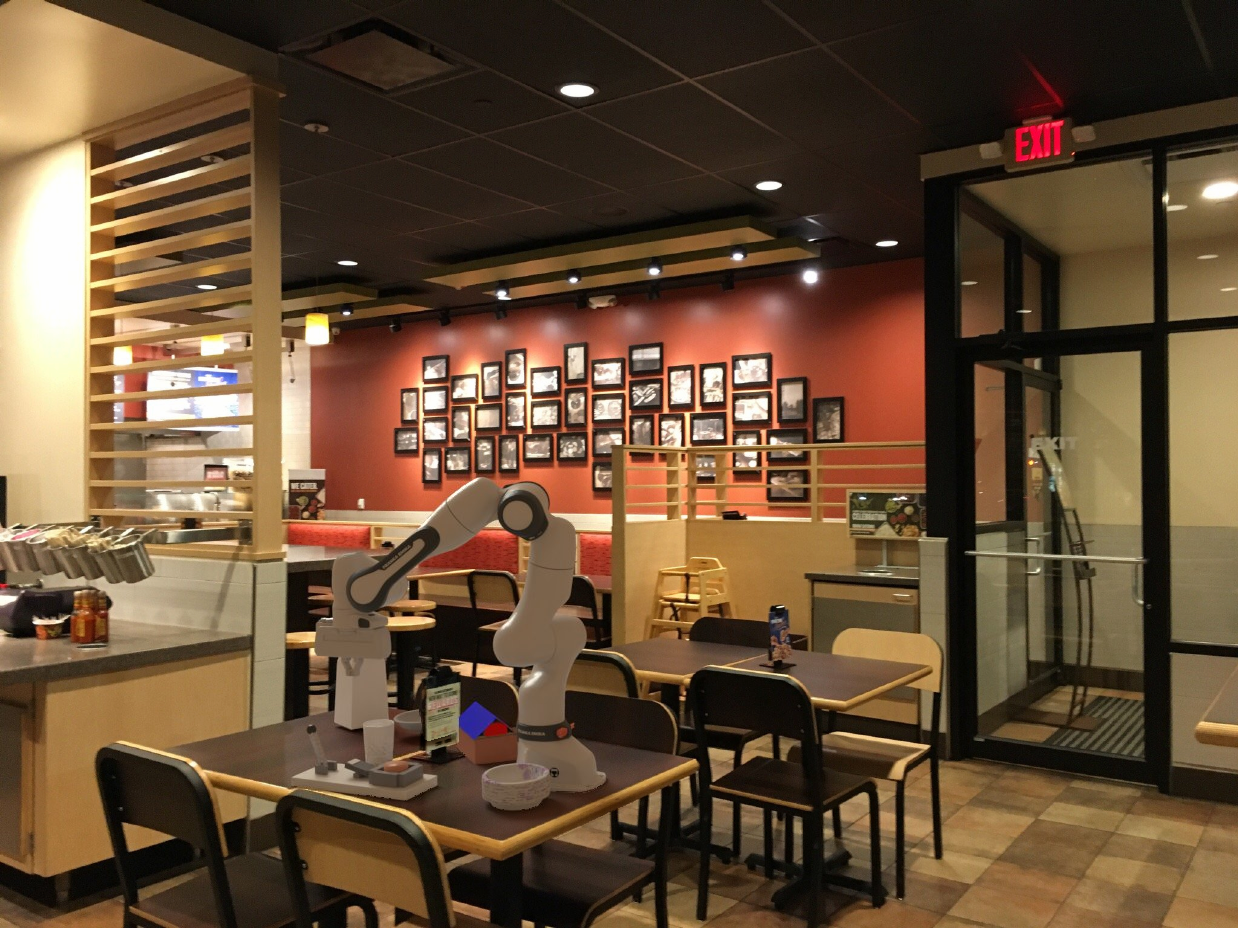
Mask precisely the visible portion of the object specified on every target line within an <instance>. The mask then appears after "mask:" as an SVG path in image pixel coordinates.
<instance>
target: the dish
mask: <svg viewBox="0 0 1238 928" xmlns="http://www.w3.org/2000/svg"><path fill="white" fill-rule="evenodd" d="M393 721H394V723H397V724H398V725H399V726H400V727H401V728H402V729H404V730H406V731H409V732H414V733H420V734H421V729H422V723H421V717H420V716H419V709H415V710H414V709H413V710H409V711H405V712H401V713H399V714H397V715H395V716H393Z"/></svg>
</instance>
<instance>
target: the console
mask: <svg viewBox="0 0 1238 928" xmlns="http://www.w3.org/2000/svg"><path fill="white" fill-rule="evenodd" d="M327 762H328V765H329V768H328V765H320V764H319V763H317V764H315V765H314V767H312V768H310V769H309V768H308V769H307V770H305V771H303V772H300V773H298V774H296V775H294V776H291V777H290V778H291V780H290V781H291V784H290V785H291V787H294V786H297V787H296V788H302V789H303V788H304V789H310V788H311V790H318V791H326V790H327V791H328V792H334V793H335V792H336V793H343V794H350V795H351V794H352V795H358V794H359V795H360V796H366V795H370V796H369V797H374V796H376V798H381V797H384V798H383V799H389V798H391V799H392V800H398V801H399V800H400V801H405V800H406V801H408V800H410V799H412V798H415V797H416V796H418V795H421V794H422V792H423V793H424V792H427V791H429V790H430V788H431V789H432V788H435V787H437V786H438V775H436V774H435V775H434V774H428V773H424V765H423V764H420V763H419V762H410V761H407V762H408V769H407V770H405V771H403V772H401V773H396V772H388V771H384V764H385V763H387V762H385V763H383V764H381V765H376V766H377V767H375V768H373V769H371V770H369V775H368V776H364V775H362V774H359V773H357V772H354V771H351V770H349V769H346V768H344V767H345V763H338V761H337V760H331V759H327ZM388 762H390V761H388ZM321 789H322V790H321ZM428 789H429V790H428ZM420 793H421V794H420ZM371 795H372V796H371ZM415 795H416V796H415Z"/></svg>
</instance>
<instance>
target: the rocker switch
mask: <svg viewBox="0 0 1238 928" xmlns="http://www.w3.org/2000/svg"><path fill="white" fill-rule="evenodd" d="M344 764H345V767H344V768H346V769H349V770H351V771H354V772H357V773H359V774H362V775H364V776H368V775H369V770H371V769H373V768H375V767H377V766H378V765H372V764H369V763H367V762H366V761H364V760H361V759H358V758H353V759H351V760H348V761H347V762H345V763H344Z"/></svg>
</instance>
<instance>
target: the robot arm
mask: <svg viewBox="0 0 1238 928" xmlns="http://www.w3.org/2000/svg"><path fill="white" fill-rule="evenodd" d="M550 501H551V500H550V496H549V493H548V491H547V490H546V488H544V486H543V485H541V484H539V483H537V482H535V481H532V480H525V481H523V480H522V481H518V482H514V483H508V484H505V485H504V486H503V487H502V488H501V487H500V486H499V485H498V484H497V482H494V480H492V479H490V478H488V477H483V476H479V477H476V478H474V479H472V480H471V481H469V482H467V483H465V484H464V485H462V486H461V487H460V488H458V489H456V491H454V492H453V493H452V494H450V495H449V496H448V497H447V498H446V499H445V500H444V501H443V502H442V503H440V504H439V506H438V507H437V508H436V509H434V510H433V511H432V513H431V514H430V515H429V516H428V517H427V518H425V520H424V522H423V523H421V524H420V526H419V527H417V528H416V529H415V530H414V532H412V533H411V534H410V535H409V536H408V537H407V538H406V539H405V540H404V541H402V542H401V543H400V544H399V545H397V546H396V547H395V548H394V549H392V550H391V551H390V552H389V553H388V554H386V555H385V556H384V557H383V558H382V559H380V560H378V559H375V558H373V557H371V556H370V555H369V554H368V553H367V552H365V551H361V550H360V551H355V552H350V553H349V552H348V553H343V554H340V555H338V556H337V557H336V558H335V559H334V561H333V564H332V571H331V592H332V595H333V602H332V606H331V607H332V617H330V618H327V617H321V618H320V619H318V621H317V622H316V623H315V635H314V636H315V637H314V648H313V650H314V653H315V655H316V656H317V657H324V658H326V657H328V658H329V657H330V658H339V657H341V662H342V664H343V666H344V668H345V670H346V676H354V677H357V676H359V675H360V668H361V666H362V664H363V662H364V659H387V658H389V657H390V655H391V654H392V640H391V632H390V630H389V629H388V627H387V626H388V625H389V618H388V616H385V615H383V614H381V613H378V612H377V610H379V609H381V608H384V607H387V606H390V605H392V604H396V603H397V602H399V601H400V600H402V599H403V598H404V597H405V596H406V595H407V592H408V589H409V579H408V577H407V574H409V573H410V572H412V570H414V569H415V568H416V567H417V566H419V565H420V564H421V563H423V562H424V561H427V560H428V559H430V558H433V557H435V556H438V555H441V554H445V553H447V552H450V551H454V550H456V549H457V548H458V549H459V548H460V547H462V546H463V545H465V544H466V543H467V542H470V540H472V539H473V538H474V537H475V536H476V535H477V534H479V533H480V532H481V531H483V529H485V528H486V527H487V525H489V524H490V523H491V524H492V522H494V521H498V522H499V524H500V526H501V527H502V529H503V530H505V531H506V532H508V533H509V534H510V535H513V536H516V537H519V538H521V539H522V540H525V541H527V542H529V543H530V548H529V555H528V562H527V569H526V576H525V581H524V586H523V590H522V594H521V597H520V599H519V601H518V604H516V607H515V609H514V610H513V612H512V614H511V615H510V617H509V618H508V619H507V620H506V621H505V622H504V624H502V625H501V626H499V628H497V630H496V632H495V634H494V635H493V641H492V648H493V649H492V650H493V652H494V655H495V658H497V660H498V661H499V663H500V664H502V665H503V666H506V667H516V668H525V667H530V666H533V667H532V669H531V672H530V674H529V675H528V677H527V678H526V679H525V680H524V681H523V682H522V684H521V685H520V687H519V688H518V720H517V722H516V733H517V741H518V755H517V760H516V762H515V763H530V764H537V765H541V766H544V767H546V768H547V769H548V770H549V771H550V789H551V790H550V792H556V791H578V792H580V791H581V792H582V791H587V790H590V789H594V788H596V789H598V788H599V787H598V786H600V785H601V786H602V785H603V784H604V783H606V781H607V775H606V773H605V772H602V771H598V769H597V761H596V757H595V754H594V752H592V750H589V748H587V747H586V745H584V744H582V743H581V742H580V741H579V740H578V739H576V737H574V736H573V735H572V734H573V733H572V732H573V731H572V730H573V728H575V726H574V725H575V722H572V723H569V722H568V721H567V719H566V718H565V716H566V715H565V713H566V712H565V710H566V709H565V707H566V704H565V703H566V702H565V701H566V700H565V699H566V686H567V681H568V679H569V678H568V677H569V674H570V672H571V669H572V667H573V664H574V663H575V660H576V659H577V657H578V656H579V654H580V653H582V651H583V650H584V648H585V646H586V643H587V637H588V636H587V634H588V633H587V630H586V626H585V625H584V623H583V621H582V620H581V619H580V618H579V617H577V616H575V615H572V614H571V615H569V614H559V613H558V614H556V613H557V612H558V611H559V609H560V608H562V606H564V604H566V603H567V601H568V600H569V599H570V597H571V593H572V585H573V579H574V572H575V567H576V556H577V554H576V553H577V536H576V528H575V526H574V524H573V523H572V522H571V521H569V520H568V519H566V518H564V517H560V516H556V515H554V514H552V513H551V512H550V508H551V507H550V506H551V502H550ZM351 658H354V663H356V664H355V666H354V668H352V666H351V664H350V662H349V661H351ZM601 786H600V787H601ZM597 787H598V788H597ZM594 790H595V789H594Z"/></svg>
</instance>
